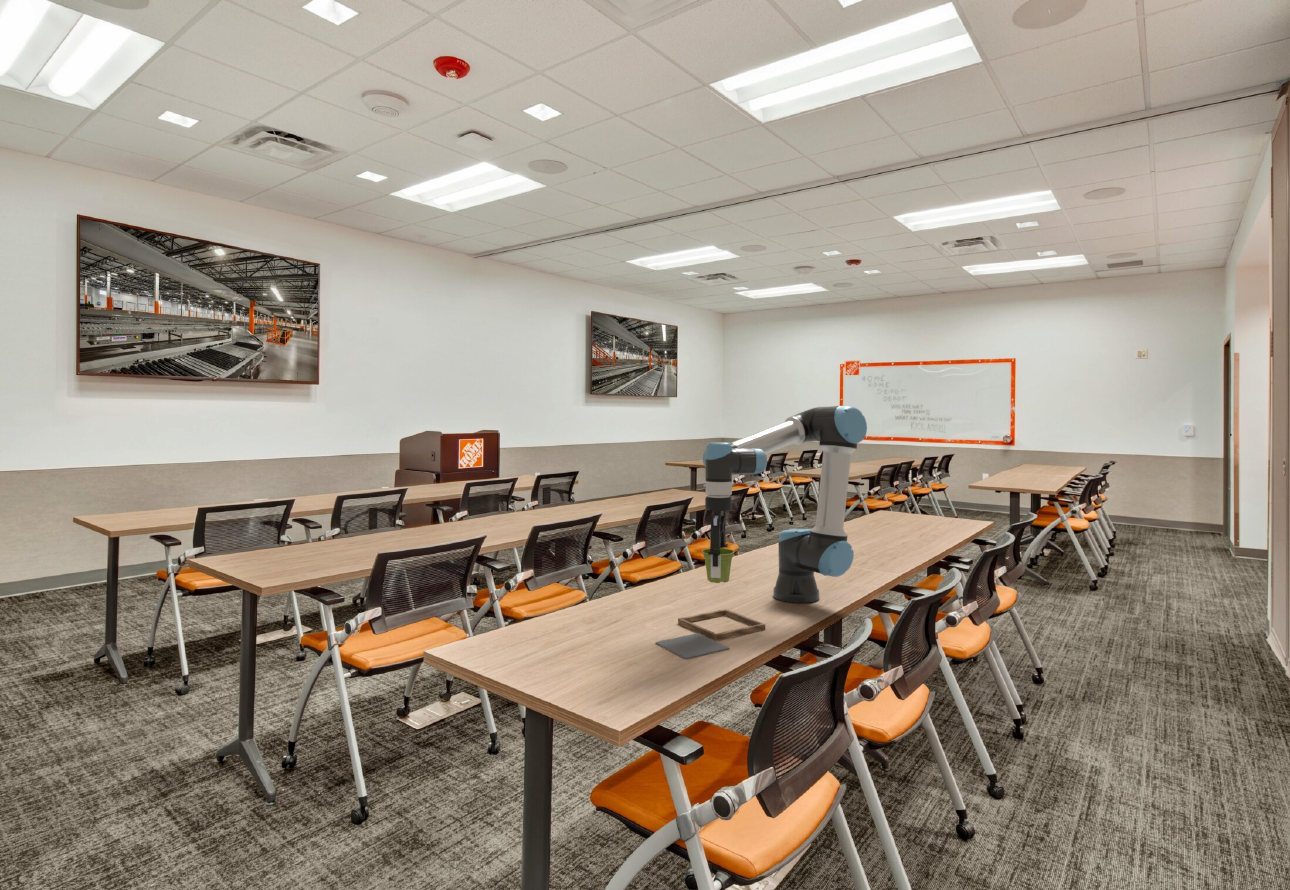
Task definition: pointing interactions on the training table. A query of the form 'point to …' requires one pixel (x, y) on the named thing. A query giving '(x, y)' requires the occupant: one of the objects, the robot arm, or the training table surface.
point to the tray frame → (753, 628)
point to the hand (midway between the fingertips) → (718, 573)
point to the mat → (692, 646)
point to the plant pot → (725, 564)
